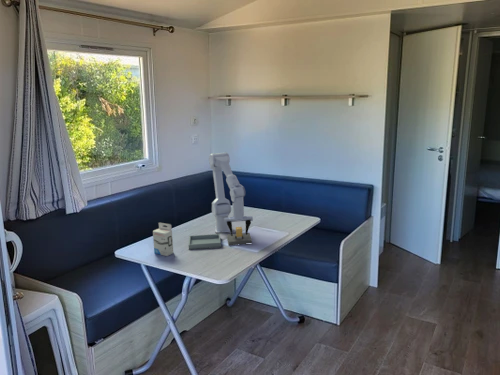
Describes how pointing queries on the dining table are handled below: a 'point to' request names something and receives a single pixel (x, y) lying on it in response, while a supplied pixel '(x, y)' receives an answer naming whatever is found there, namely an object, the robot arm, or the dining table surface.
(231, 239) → the fuse holder
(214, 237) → the parts tray
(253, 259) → the dining table surface
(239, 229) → the block
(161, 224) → the ink box
